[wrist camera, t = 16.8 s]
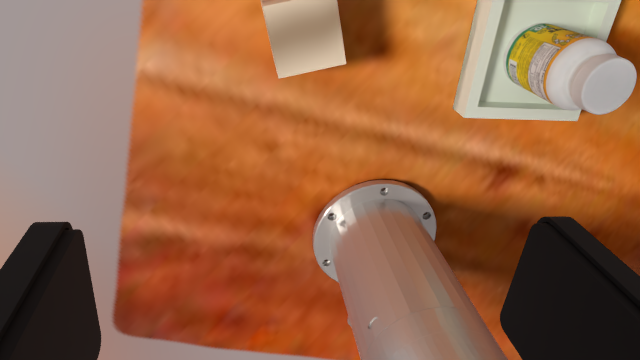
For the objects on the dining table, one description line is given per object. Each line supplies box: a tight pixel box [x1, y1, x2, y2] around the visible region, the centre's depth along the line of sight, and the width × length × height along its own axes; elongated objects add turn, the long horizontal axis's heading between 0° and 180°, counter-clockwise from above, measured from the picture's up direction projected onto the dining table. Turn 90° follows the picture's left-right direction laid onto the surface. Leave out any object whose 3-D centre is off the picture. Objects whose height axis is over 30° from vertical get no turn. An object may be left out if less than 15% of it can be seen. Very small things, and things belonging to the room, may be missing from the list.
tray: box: [453, 0, 621, 121], centre depth 40 cm, size 11×11×2 cm
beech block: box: [261, 0, 346, 78], centre depth 35 cm, size 5×5×5 cm
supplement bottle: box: [503, 23, 637, 115], centre depth 36 cm, size 5×5×10 cm
